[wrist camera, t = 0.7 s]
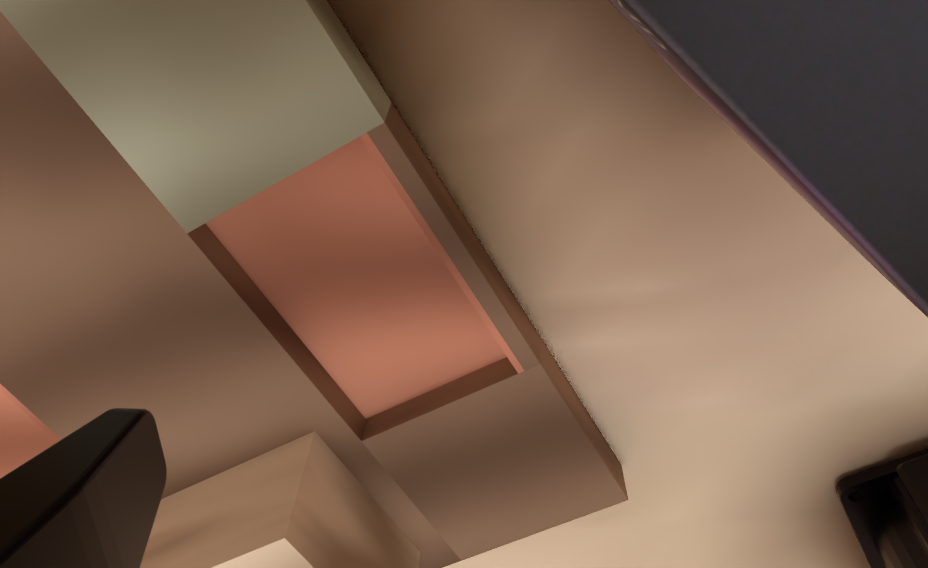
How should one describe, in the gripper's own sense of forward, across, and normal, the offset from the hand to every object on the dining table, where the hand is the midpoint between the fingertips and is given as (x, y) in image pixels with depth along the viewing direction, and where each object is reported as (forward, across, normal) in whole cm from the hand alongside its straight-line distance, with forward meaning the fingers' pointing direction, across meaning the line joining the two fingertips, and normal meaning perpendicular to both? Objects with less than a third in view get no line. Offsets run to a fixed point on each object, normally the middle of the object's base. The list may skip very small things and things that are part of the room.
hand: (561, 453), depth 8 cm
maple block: (+11, +7, +14) cm, 19 cm away
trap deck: (+13, +11, +7) cm, 18 cm away
